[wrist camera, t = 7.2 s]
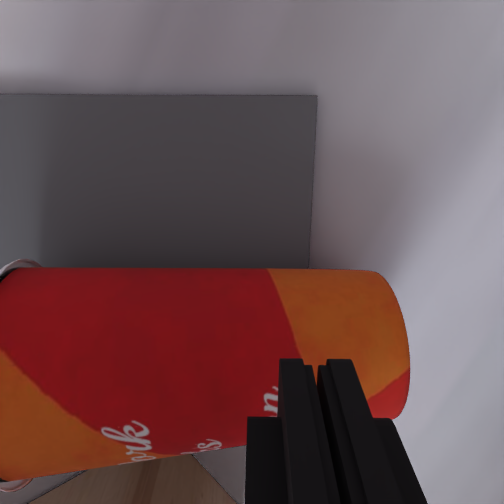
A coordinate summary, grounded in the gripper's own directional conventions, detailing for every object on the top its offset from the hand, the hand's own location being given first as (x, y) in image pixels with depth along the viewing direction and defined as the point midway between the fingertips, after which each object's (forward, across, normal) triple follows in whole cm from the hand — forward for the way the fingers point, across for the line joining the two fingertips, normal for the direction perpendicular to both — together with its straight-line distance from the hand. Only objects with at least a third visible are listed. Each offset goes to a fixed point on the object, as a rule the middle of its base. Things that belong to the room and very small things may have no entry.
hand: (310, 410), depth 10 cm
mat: (+9, +7, 0) cm, 11 cm away
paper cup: (+6, -4, +2) cm, 7 cm away
